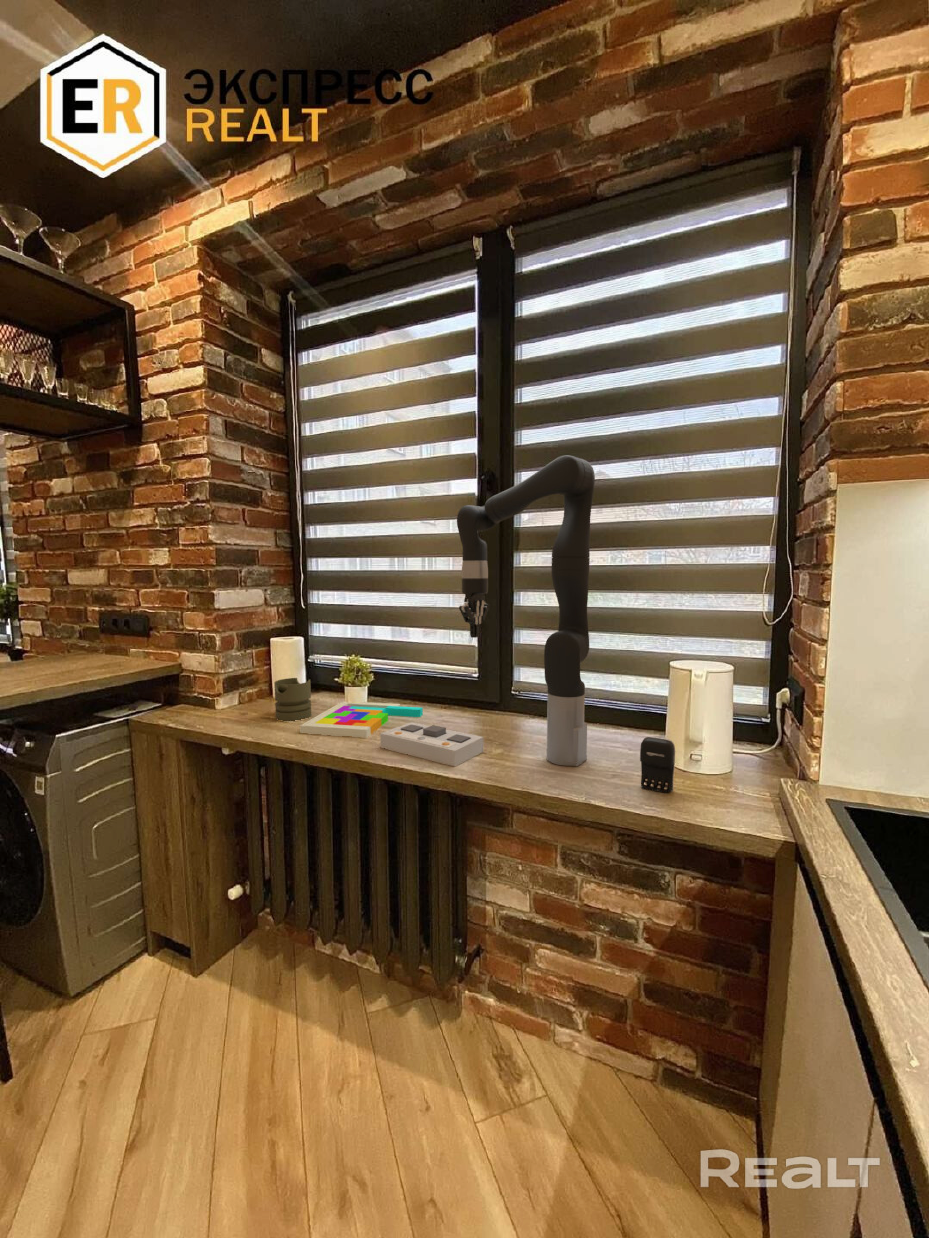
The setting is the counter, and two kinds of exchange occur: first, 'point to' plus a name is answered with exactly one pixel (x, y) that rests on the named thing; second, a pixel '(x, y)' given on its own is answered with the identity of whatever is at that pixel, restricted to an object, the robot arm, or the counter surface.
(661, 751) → the battery charger
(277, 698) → the piston
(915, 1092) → the counter surface
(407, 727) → the button far
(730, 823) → the counter surface
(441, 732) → the button middle
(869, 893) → the counter surface
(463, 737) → the button near
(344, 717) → the puzzle game
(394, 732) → the button panel
